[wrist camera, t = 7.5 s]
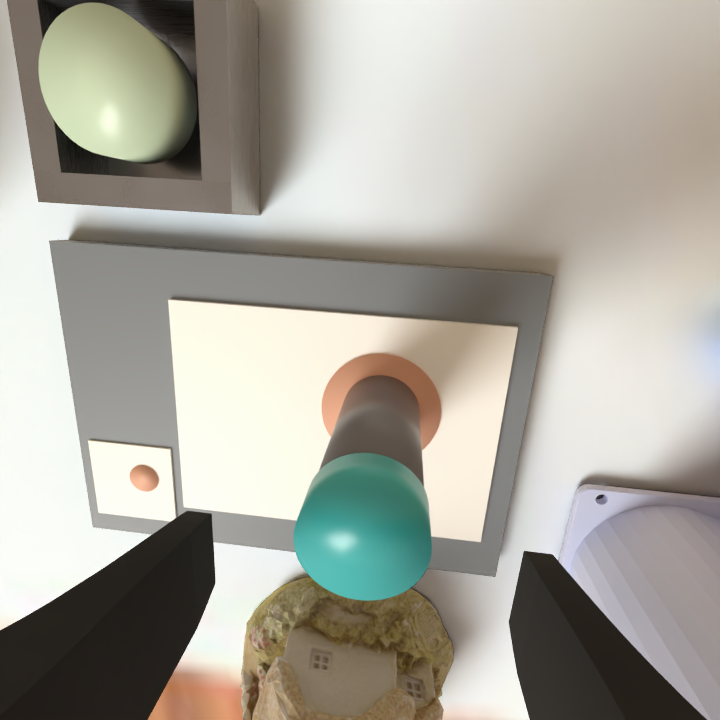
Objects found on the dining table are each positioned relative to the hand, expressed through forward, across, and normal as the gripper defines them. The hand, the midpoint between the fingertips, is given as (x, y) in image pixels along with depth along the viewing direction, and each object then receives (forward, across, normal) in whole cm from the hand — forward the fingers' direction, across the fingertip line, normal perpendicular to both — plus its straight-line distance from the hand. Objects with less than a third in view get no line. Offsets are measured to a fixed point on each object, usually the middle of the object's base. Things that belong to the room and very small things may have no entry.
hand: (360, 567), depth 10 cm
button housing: (+10, +9, -11) cm, 17 cm away
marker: (+9, 0, 0) cm, 9 cm away
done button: (+8, +9, -11) cm, 16 cm away
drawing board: (+10, +4, +1) cm, 11 cm away
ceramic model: (+10, +1, +17) cm, 20 cm away
